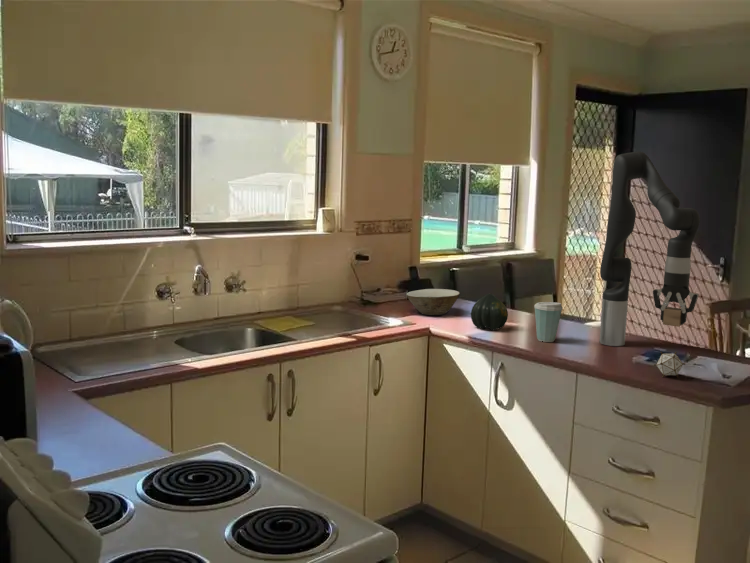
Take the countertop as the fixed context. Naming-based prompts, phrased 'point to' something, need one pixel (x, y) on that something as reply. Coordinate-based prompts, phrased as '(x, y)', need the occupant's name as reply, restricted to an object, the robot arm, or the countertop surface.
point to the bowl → (433, 300)
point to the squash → (489, 313)
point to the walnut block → (672, 316)
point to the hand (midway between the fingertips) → (672, 322)
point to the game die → (669, 364)
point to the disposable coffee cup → (547, 320)
